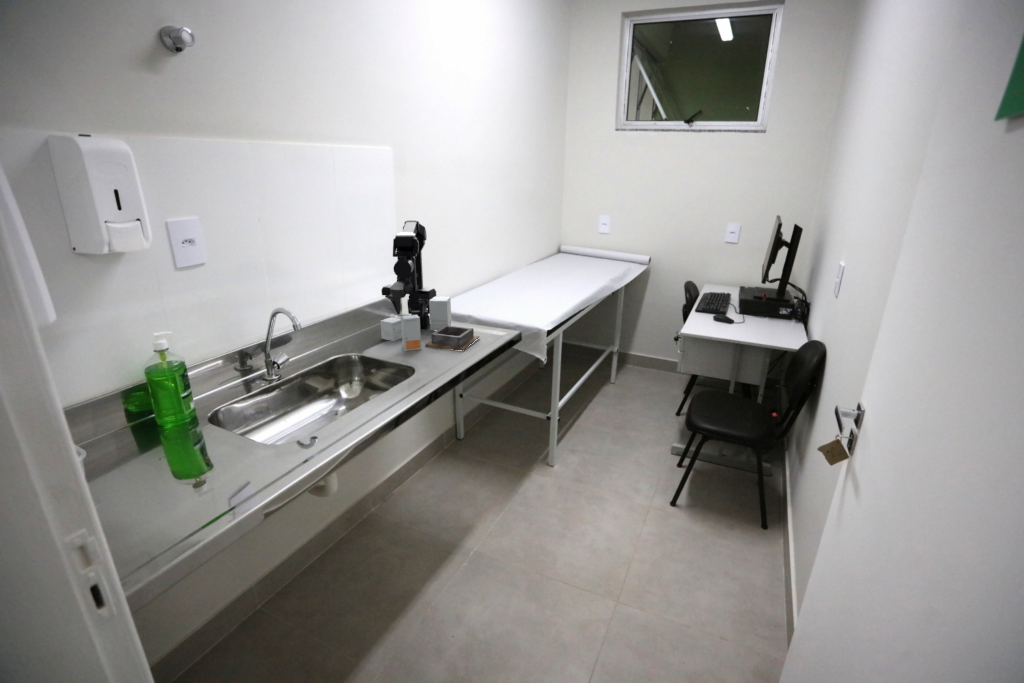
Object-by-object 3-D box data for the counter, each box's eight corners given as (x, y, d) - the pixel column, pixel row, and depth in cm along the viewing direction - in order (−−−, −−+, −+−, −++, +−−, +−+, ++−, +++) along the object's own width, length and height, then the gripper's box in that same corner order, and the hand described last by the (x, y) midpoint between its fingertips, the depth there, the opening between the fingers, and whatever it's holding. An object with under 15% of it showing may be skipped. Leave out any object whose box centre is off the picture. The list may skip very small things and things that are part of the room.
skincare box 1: (393, 341, 189) (392, 323, 187) (381, 339, 192) (379, 320, 190) (404, 337, 194) (403, 318, 192) (392, 334, 197) (391, 316, 195)
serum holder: (425, 346, 184) (424, 334, 183) (444, 334, 197) (443, 323, 196) (463, 351, 179) (462, 339, 178) (479, 338, 193) (479, 327, 191)
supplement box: (452, 326, 208) (451, 296, 204) (448, 331, 201) (447, 301, 197) (434, 325, 208) (433, 295, 204) (430, 331, 201) (428, 300, 197)
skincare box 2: (405, 351, 179) (402, 319, 175) (402, 347, 183) (400, 316, 179) (421, 349, 181) (420, 317, 177) (419, 345, 185) (417, 314, 181)
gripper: (370, 274, 169) (374, 319, 174) (419, 278, 163) (422, 324, 168) (388, 268, 179) (391, 310, 184) (436, 272, 173) (438, 315, 178)
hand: (410, 315), depth 178 cm, fingers open, 9 cm apart
